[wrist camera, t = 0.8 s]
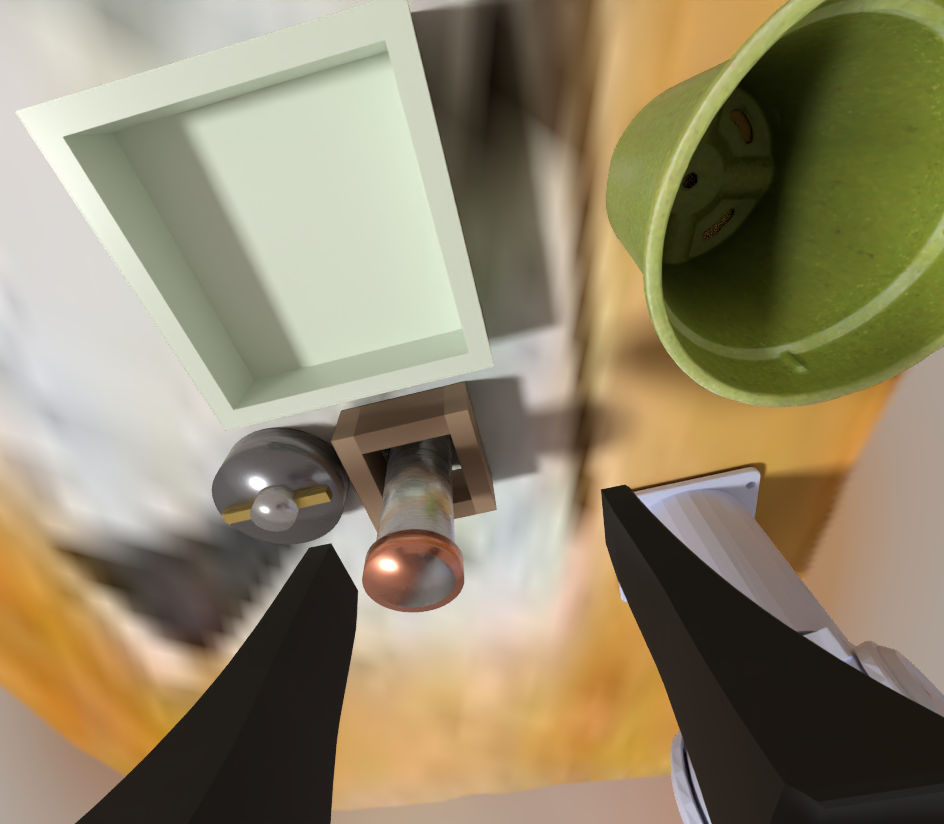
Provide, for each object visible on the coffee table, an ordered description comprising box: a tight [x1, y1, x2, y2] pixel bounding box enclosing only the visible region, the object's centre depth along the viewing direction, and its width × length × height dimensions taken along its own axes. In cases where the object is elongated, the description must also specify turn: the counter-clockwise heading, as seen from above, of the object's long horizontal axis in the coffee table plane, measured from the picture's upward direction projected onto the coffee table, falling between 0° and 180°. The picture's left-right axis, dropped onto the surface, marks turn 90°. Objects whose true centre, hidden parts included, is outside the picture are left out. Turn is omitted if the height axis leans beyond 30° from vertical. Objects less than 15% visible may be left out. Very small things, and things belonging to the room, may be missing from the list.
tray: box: [15, 0, 494, 431], centre depth 16 cm, size 11×11×3 cm
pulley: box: [212, 428, 349, 544], centre depth 23 cm, size 6×6×3 cm
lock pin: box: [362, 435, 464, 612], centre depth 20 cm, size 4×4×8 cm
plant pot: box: [606, 0, 944, 407], centre depth 14 cm, size 9×9×9 cm
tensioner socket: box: [331, 382, 497, 533], centre depth 22 cm, size 6×6×2 cm
